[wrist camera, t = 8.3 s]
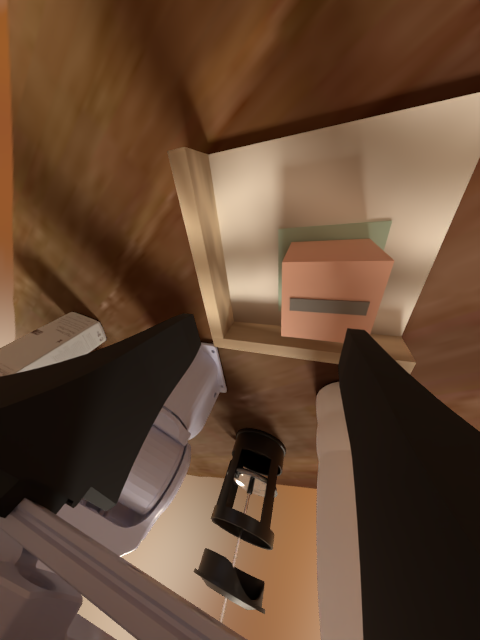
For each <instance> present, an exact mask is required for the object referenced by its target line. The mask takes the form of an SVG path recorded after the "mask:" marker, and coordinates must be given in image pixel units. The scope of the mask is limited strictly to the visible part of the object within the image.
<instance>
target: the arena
mask: <svg viewBox="0 0 480 640" xmlns="http://www.w3.org/2000/svg"><path fill="white" fill-rule="evenodd" d="M167 153H168V157H169V161H170V165H171V169H172V173H173V177H174V182H175V186H176V190H177V194H178V198H179V202H180V206H181V211H182V215H183V219H184V223H185V227H186V231H187V235H188V239H189V244H190V248H191V252H192V256H193V260H194V264H195V268H196V273H197V277H198V281H199V285H200V289H201V293H202V297H203V302H204V306H205V310H206V314H207V318H208V322H209V326H210V331H211V335H212V339H213V343H214V347H220V348H227V349H234V350H242V351H249V352H256V353H263V354H270V355H277V356H284V357H291V358H298V359H305V360H312V361H319V362H326V363H333V364H338V363H339V359H340V355H341V351H342V347H343V343H339V342H330V341H321V340H312V339H303V338H294V337H285V336H281V305H282V261H283V259H284V257H285V255H286V253H287V251H288V249H289V246H290V244H291V242H304V241H326V240H347V239H369V238H370V239H371V240H372V241H373V242H374V243H375V244H377V245H378V246H379V247H380V248H381V249H382V250H383V251H384V252H385V253H387V254H388V255H389V256H390V257H391V258H392V259H393V260H394V264H393V267H392V270H391V273H390V276H389V279H388V282H387V285H386V288H385V291H384V294H383V297H382V300H381V303H380V306H379V309H378V312H377V315H376V318H375V321H374V325H373V328H372V331H371V334H370V336H371V337H372V338H373V339H374V340H375V341H376V342H377V343H378V344H379V345H380V346H381V347H382V348H383V349H384V350H385V351H386V352H387V353H388V354H389V355H390V356H391V357H392V358H393V359H394V360H395V361H396V362H397V363H398V364H399V365H400V366H401V367H402V368H404V369H405V370H406V371H407V372H408V373H409V374H410V373H411V371H412V370H413V368H414V366H415V364H416V361H415V360H414V358H413V356H412V354H411V353H410V351H409V349H408V348H407V346H406V344H405V342H404V341H403V339H402V337H401V336H402V334H403V331H404V329H405V327H406V324H407V322H408V320H409V318H410V315H411V313H412V311H413V308H414V306H415V304H416V301H417V299H418V297H419V295H420V292H421V290H422V288H423V285H424V283H425V281H426V279H427V276H428V274H429V272H430V269H431V267H432V265H433V263H434V260H435V258H436V256H437V253H438V251H439V249H440V247H441V244H442V242H443V240H444V237H445V235H446V233H447V231H448V228H449V226H450V224H451V221H452V219H453V217H454V214H455V212H456V210H457V208H458V205H459V203H460V201H461V198H462V196H463V194H464V192H465V189H466V187H467V185H468V182H469V180H470V178H471V176H472V173H473V171H474V169H475V166H476V164H477V162H478V160H479V157H480V92H479V93H474V94H470V95H466V96H461V97H457V98H453V99H448V100H444V101H439V102H435V103H431V104H426V105H422V106H418V107H413V108H409V109H405V110H400V111H396V112H392V113H387V114H383V115H379V116H374V117H370V118H365V119H361V120H357V121H352V122H348V123H344V124H339V125H335V126H331V127H326V128H322V129H318V130H313V131H309V132H305V133H300V134H296V135H291V136H287V137H283V138H278V139H274V140H270V141H265V142H261V143H257V144H252V145H248V146H244V147H239V148H235V149H231V150H226V151H222V152H217V153H213V154H209V155H208V154H205V153H202V152H199V151H196V150H193V149H190V148H187V147H182V148H178V149H174V150H170V151H167Z"/></svg>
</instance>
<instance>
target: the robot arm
mask: <svg viewBox="0 0 480 640" xmlns="http://www.w3.org/2000/svg"><path fill="white" fill-rule="evenodd" d="M213 350H214V351H213ZM338 371H339V387H340V393H341V398H342V404H343V409H344V415H345V420H346V425H347V431H348V436H349V441H350V448H351V455H352V464H353V475H354V487H355V500H356V513H357V526H358V543H359V559H360V577H361V599H362V621H363V640H480V432H479V431H478V430H477V429H475V428H474V427H473V426H471V425H470V424H469V423H468V422H466V421H465V420H464V419H462V418H461V417H460V416H459V415H457V414H456V413H455V412H453V411H452V410H451V409H450V408H448V407H447V406H446V405H445V404H443V403H442V402H441V401H440V400H439V399H437V398H436V397H435V396H434V395H433V394H432V393H430V392H429V391H428V390H427V389H426V388H425V387H424V386H422V385H421V384H420V383H419V382H418V381H417V380H416V379H414V378H413V377H412V376H411V375H410V374H409V373H408V372H407V371H406V370H405V369H404V368H402V367H401V366H400V365H399V364H398V363H397V362H396V361H395V360H394V359H393V358H392V357H391V356H390V355H389V354H388V353H387V352H386V351H385V350H384V349H383V348H382V347H381V346H380V345H379V344H378V343H377V342H376V341H375V340H374V339H373V338H372V337H371V336H370V335H369V334H368V333H367V332H366V331H365V330H361V329H350V328H347V331H346V335H345V339H344V343H343V347H342V351H341V355H340V359H339V363H338ZM226 391H227V388H226V384H225V380H224V375H223V371H222V367H221V362H220V358H219V354H218V349H217V347H214V344H209V343H202V342H201V341H200V338H199V334H198V330H197V327H196V323H195V319H194V316H193V314H184V313H183V314H180V315H178V316H175V317H173V318H170V319H168V320H166V321H164V322H162V323H160V324H158V325H155V326H153V327H151V328H149V329H147V330H145V331H143V332H140V333H138V334H136V335H134V336H131V337H129V338H127V339H124V340H122V341H120V342H117V343H115V344H112V345H110V346H107V347H105V348H102V349H99V350H96V351H94V352H91V353H88V354H85V355H81V356H78V357H75V358H72V359H69V360H65V361H62V362H59V363H55V364H51V365H48V366H44V367H40V368H36V369H32V370H28V371H24V372H19V373H15V374H10V375H5V376H0V640H116V639H114V638H113V637H112V636H110V635H109V634H107V633H106V632H104V631H103V630H101V629H100V628H98V627H97V626H95V625H94V624H92V623H91V622H89V621H88V620H86V619H85V618H83V617H81V616H80V615H79V614H77V612H78V610H79V608H80V606H81V605H82V596H81V594H82V595H83V596H84V597H85V598H87V599H88V600H89V601H90V602H91V603H93V604H94V605H95V606H96V607H98V608H99V609H100V610H101V611H103V612H104V613H105V614H106V615H108V616H109V617H110V618H111V619H112V620H114V621H115V622H116V623H117V624H119V625H120V626H121V627H122V628H123V629H125V630H126V631H127V632H128V633H130V634H131V635H132V636H133V637H135V638H136V639H137V640H246V639H245V638H244V637H242V636H241V635H239V634H237V633H236V632H235V631H233V630H231V629H230V628H228V627H227V626H225V625H224V624H222V623H221V622H219V621H218V620H216V619H215V618H213V617H211V616H210V615H209V614H207V613H205V612H204V611H202V610H201V609H199V608H198V607H196V606H195V605H193V604H192V603H190V602H189V601H187V600H186V599H184V598H182V597H181V596H179V595H178V594H176V593H175V592H173V591H172V590H170V589H169V588H167V587H166V586H164V585H162V584H161V583H160V582H158V581H156V580H155V579H153V578H152V577H150V576H149V575H147V574H146V573H144V572H143V571H141V570H140V569H138V568H136V567H135V566H133V565H132V564H131V563H129V562H127V561H126V560H124V559H123V558H121V556H123V555H126V554H128V553H130V552H132V551H134V550H136V549H137V548H138V546H139V544H140V543H141V541H142V540H144V539H145V537H146V536H147V534H148V532H149V531H150V529H151V528H152V526H153V525H154V523H155V522H156V520H157V519H158V517H159V516H160V515H161V514H162V513H163V512H164V511H165V510H166V509H167V507H168V506H169V505H170V503H171V502H172V500H173V499H174V497H175V495H176V494H177V492H178V490H179V488H180V486H181V484H182V482H183V480H184V478H185V476H186V473H187V471H188V468H189V465H190V460H191V446H190V444H188V443H187V442H188V440H190V439H192V438H193V437H195V436H196V435H197V434H198V433H199V432H200V431H201V430H202V428H203V427H204V425H205V423H206V420H207V418H208V416H209V414H210V412H211V410H212V408H213V406H214V404H215V401H216V399H217V397H218V395H219V393H220V392H222V393H226Z"/></svg>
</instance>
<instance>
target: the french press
mask: <svg viewBox="0 0 480 640" xmlns="http://www.w3.org/2000/svg"><path fill="white" fill-rule="evenodd" d="M285 454H286V449H285V447H284V445H283V444H282V443H281V442H280V441H279V440H278V439H276V438H275V437H273V436H272V435H270V434H268V433H266V432H263V431H260V430H256V429H241V430H239V431H238V433H237V435H236V442H235V445H234V448H233V451H232V456H233V458H232V460H231V461H230V464H229V467H228V470H227V473H226V476H225V479H224V482H223V486H222V489H221V492H220V495H219V498H218V501H217V505H216V506H215V507H214V511H213V513H212V517H211V519H212V521H213V522H214V523H215V524H217V525H218V526H220V527H221V528H222V529H224V530H226V531H227V532H229V533H231V534H233V535H234V536H236V537H238V540H237V545H236V549H235V554H234V558H233V563H231V562H230V561H229V560H228V559H226V558H225V557H224V556H222V555H220V554H218V553H216V552H214V551H212V550H209V549H207V548H205V550H204V554H203V556H202V560H201V563H200V566H199V569H198V570H197V569H195V570H194V572H195V573H196V574H198V575H199V576H201V577H202V579H203V580H204V582H205V583H206V585H207V586H208V587H210V588H211V589H213V590H214V591H216V592H218V593H219V594H221V595H222V596H224V597H225V598H224V603H223V607H222V612H221V616H220V621H219V622H221V623H223V618H224V614H225V609H226V604H227V600H228V599H229V600H231V601H232V602H234V603H236V604H238V605H239V606H241V607H243V608H245V609H247V610H252V609H253V610H254V609H256V610H258V611H260V612H262V613H264V614H265V609H263V608H262V599H263V591H264V581H262V580H259V579H257V578H255V577H253V576H251V575H249V574H247V573H245V572H243V571H241V570H239V569H237V568H236V567H235V563H236V558H237V553H238V549H239V544H240V539H242V540H244V541H246V542H248V543H251V544H253V545H255V546H258V547H260V548H263V549H267V550H272V549H273V542H274V533H273V532H272V531H271V530H270V524H271V517H272V510H273V502H274V497H276V496H277V492H276V490H277V489H276V480H277V476H279V475H281V473H282V467H283V459H284V456H285ZM243 466H244V467H245V468H247V469H245V468H243ZM248 469H249V470H248ZM260 474H261V475H260ZM262 475H265V476H268V479H267V478H266V477H264V476H262ZM238 486H239V487H241V488H243V489H245V490H247V493H248V496H247V501H246V505H245V509H244V513H242V512H239V511H237V510H235V509H232V507H233V504H234V500H235V496H236V492H237V488H238ZM252 493H254V494H256V495H259V496H263V497H264V504H263V508H262V514H261V521H260V522H259V521H257V520H256V519H254V518H252V517H250V516H248V515H246V512H247V507H248V502H249V498H250V495H251V494H252Z"/></svg>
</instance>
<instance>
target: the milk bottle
mask: <svg viewBox="0 0 480 640" xmlns="http://www.w3.org/2000/svg"><path fill="white" fill-rule="evenodd" d="M316 413H317V421H318V428H317V436H316V445H317V454H318V459H319V466H318V479H317V580H318V602H319V618H320V632H321V640H363V621H362V599H361V577H360V559H359V543H358V526H357V513H356V500H355V487H354V475H353V464H352V455H351V448H350V441H349V436H348V431H347V425H346V420H345V415H344V409H343V404H342V398H341V393H340V387H339V382H335V383H331V384H329V385H326V386H325V387H323V388H322V389H321V390H320V391H319V392H318V394H317V397H316Z"/></svg>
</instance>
